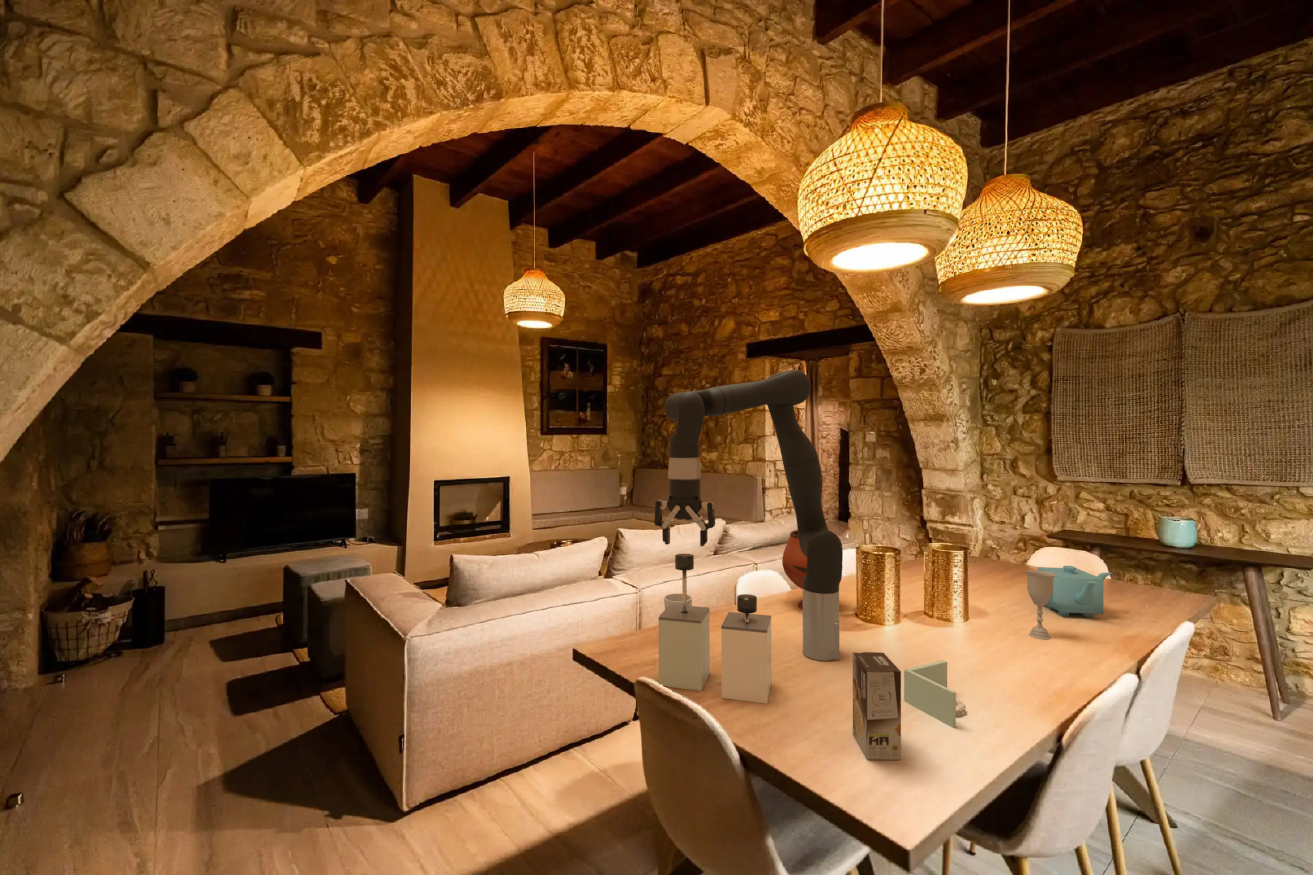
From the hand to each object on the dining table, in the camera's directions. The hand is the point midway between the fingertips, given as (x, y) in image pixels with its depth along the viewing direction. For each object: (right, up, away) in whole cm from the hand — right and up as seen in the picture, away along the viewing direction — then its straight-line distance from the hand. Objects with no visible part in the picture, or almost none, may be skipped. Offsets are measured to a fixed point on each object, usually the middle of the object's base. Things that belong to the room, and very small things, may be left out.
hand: (684, 544), depth 135 cm
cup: (-1, -32, +26) cm, 41 cm away
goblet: (+45, -31, +53) cm, 76 cm away
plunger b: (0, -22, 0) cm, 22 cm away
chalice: (+102, -31, +27) cm, 110 cm away
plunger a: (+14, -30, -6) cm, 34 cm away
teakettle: (+126, -31, +47) cm, 138 cm away
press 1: (0, -32, +1) cm, 32 cm away
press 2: (+14, -32, -6) cm, 35 cm away
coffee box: (+34, -33, -28) cm, 55 cm away
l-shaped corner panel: (+55, -33, -14) cm, 66 cm away
